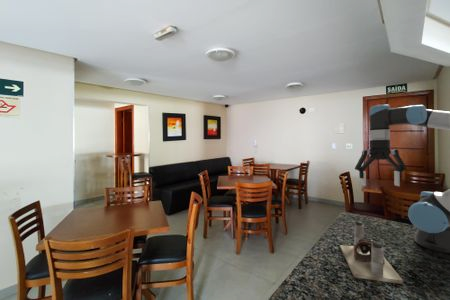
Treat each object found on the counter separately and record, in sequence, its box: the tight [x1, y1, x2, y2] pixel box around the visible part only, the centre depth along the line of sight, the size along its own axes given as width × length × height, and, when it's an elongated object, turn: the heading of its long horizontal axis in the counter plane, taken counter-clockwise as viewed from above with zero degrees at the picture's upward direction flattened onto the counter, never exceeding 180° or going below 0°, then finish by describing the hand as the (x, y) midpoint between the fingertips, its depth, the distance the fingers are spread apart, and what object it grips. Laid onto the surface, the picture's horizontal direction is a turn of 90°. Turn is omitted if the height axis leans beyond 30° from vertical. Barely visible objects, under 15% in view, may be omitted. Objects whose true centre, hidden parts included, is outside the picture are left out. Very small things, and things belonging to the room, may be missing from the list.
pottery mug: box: [353, 239, 385, 264], centre depth 82 cm, size 12×10×8 cm
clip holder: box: [339, 220, 404, 285], centre depth 82 cm, size 14×22×12 cm, turn 164°
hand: (380, 185), depth 100 cm, fingers open, 13 cm apart
